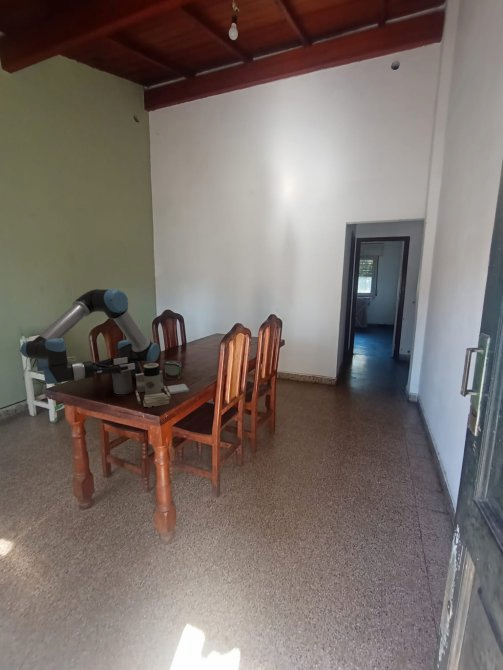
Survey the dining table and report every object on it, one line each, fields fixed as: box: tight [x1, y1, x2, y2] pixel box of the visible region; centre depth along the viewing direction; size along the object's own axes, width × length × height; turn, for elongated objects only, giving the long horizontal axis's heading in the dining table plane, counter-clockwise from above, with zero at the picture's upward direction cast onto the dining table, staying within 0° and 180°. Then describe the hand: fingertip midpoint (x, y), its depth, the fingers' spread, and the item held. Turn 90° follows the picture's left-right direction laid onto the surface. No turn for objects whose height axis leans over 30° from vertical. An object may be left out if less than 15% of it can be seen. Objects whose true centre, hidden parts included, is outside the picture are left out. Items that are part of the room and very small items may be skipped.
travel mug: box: [143, 362, 162, 396], centre depth 175 cm, size 8×8×18 cm
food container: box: [163, 360, 183, 381], centre depth 208 cm, size 12×6×10 cm, turn 65°
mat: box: [166, 383, 190, 395], centre depth 188 cm, size 10×10×1 cm
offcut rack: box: [135, 370, 172, 408], centre depth 177 cm, size 26×16×10 cm, turn 24°
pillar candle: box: [111, 370, 134, 395], centre depth 184 cm, size 10×10×15 cm
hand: (130, 362), depth 167 cm, fingers open, 13 cm apart
